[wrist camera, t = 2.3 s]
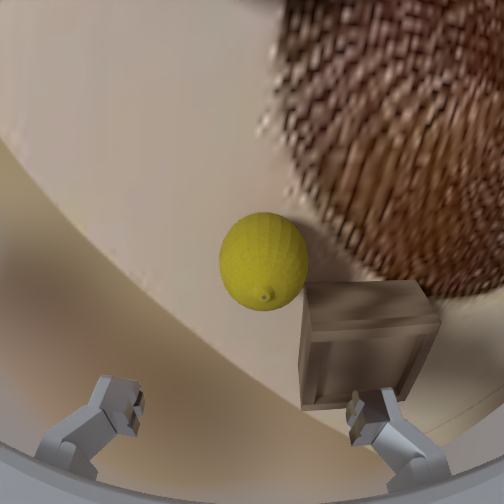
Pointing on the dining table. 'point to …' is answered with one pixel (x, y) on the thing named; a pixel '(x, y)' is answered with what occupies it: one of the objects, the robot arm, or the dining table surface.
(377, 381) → the walnut tray
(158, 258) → the dining table surface
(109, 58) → the dining table surface
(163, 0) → the dining table surface
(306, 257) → the lemon
